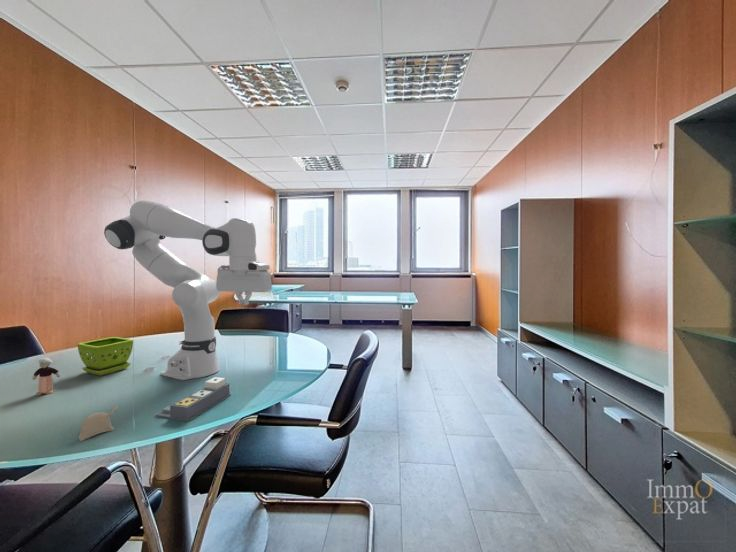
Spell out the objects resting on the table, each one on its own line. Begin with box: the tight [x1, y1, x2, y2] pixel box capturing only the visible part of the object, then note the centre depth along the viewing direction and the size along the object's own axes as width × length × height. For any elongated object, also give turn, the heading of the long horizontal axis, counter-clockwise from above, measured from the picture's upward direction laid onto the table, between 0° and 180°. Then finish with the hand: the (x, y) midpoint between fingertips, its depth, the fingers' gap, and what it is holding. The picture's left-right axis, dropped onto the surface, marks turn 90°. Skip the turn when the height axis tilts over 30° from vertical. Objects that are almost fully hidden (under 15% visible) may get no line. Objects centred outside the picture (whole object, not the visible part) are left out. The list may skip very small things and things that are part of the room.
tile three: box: [175, 397, 199, 407], centre depth 92 cm, size 4×4×4 cm
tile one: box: [204, 376, 227, 390], centre depth 103 cm, size 4×4×4 cm
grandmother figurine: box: [31, 357, 61, 396], centre depth 107 cm, size 8×4×13 cm, turn 117°
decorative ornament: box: [78, 406, 119, 442], centre depth 83 cm, size 4×8×5 cm, turn 141°
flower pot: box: [77, 336, 134, 376], centre depth 129 cm, size 14×14×13 cm
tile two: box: [190, 389, 213, 398], centre depth 97 cm, size 4×4×4 cm
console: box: [154, 382, 232, 422], centre depth 98 cm, size 12×18×4 cm, turn 166°
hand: (243, 304), depth 107 cm, fingers closed
